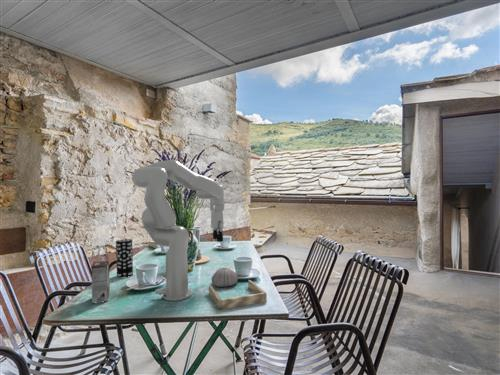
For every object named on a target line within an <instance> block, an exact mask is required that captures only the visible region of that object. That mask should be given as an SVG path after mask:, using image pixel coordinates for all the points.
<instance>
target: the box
mask: <svg viewBox="0 0 500 375" xmlns="http://www.w3.org/2000/svg"><path fill="white" fill-rule="evenodd" d="M247 280H248V281H247V284H248V285H247V287H248V289H249V290H250V291H251V292H252V293H253V294H252V293H251V294H247V295H240V296H233V297H228V298H221V296H219V294H218V293H217V291H216V289H214V287H213V286H212V285H208V294H209V296H210V297H211V299H212V301H213V302H214V304H215V305H216V307H217V308H218V309H219V310H226V309H231V308H238V307H243V306H248V305H254V304H260V303H267V301H268V299H267V298H268V297H267V294H268V293H267V292H266V291H265V290H263V289H262V288H261V287H260V286H258V285H257V284H256V283H255V282H253V281H252V280H251V279H247Z"/></svg>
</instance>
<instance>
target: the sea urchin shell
mask: <svg viewBox="0 0 500 375" xmlns="http://www.w3.org/2000/svg"><path fill="white" fill-rule="evenodd" d="M238 279H239V277H238V275H237V273H236V272H235V271H234V270H232V269H231V268H228V267H220V268H218V269H217V270H216V271H215V272H214V273H213V275H212V276H211V283H212V285H213V286H216V287H231V286H233V285H235V284H236V283H237V282H238Z"/></svg>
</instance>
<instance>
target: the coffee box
mask: <svg viewBox="0 0 500 375" xmlns="http://www.w3.org/2000/svg"><path fill="white" fill-rule="evenodd" d="M90 268H91V304H92V303H95V302H102V301H108V302H109V300H108V299H110V296H109V295H111V293H110V292H111V289H110V288H111V285H110V284H111V283H110V281H111V280H110V260H99V261H94V262H93V263H92V265H91V267H90Z"/></svg>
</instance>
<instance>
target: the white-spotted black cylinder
mask: <svg viewBox="0 0 500 375" xmlns="http://www.w3.org/2000/svg"><path fill="white" fill-rule="evenodd" d="M115 249H116V250H115V253H116V255H115V256H116V259H115V260H116V278H117V277H127V278H129V277H128V276H131V275H132V276H134V265H133V258H134V257H133V239H131V238H126V239H125V238H124V239H118V240H115ZM132 276H131V277H132Z"/></svg>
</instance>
